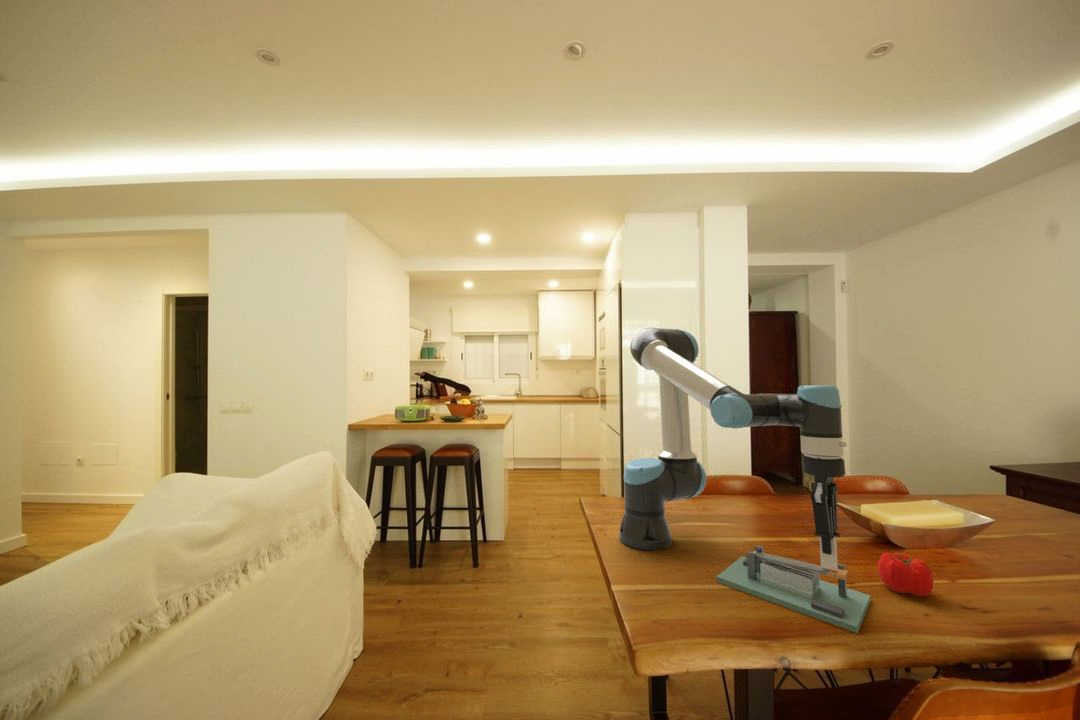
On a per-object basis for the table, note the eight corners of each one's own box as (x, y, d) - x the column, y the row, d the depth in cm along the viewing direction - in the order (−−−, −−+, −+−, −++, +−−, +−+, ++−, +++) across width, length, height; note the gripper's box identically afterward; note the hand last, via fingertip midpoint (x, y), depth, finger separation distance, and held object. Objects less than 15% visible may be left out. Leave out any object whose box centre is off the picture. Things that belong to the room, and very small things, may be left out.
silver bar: (747, 578, 91) (746, 550, 91) (758, 567, 96) (757, 541, 96) (839, 609, 78) (838, 577, 78) (846, 595, 83) (845, 565, 83)
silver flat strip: (750, 559, 92) (749, 552, 92) (755, 554, 94) (754, 548, 94) (845, 581, 79) (844, 574, 79) (848, 576, 81) (847, 569, 81)
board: (716, 581, 91) (716, 573, 91) (742, 560, 102) (742, 552, 102) (857, 633, 72) (857, 622, 72) (870, 601, 83) (870, 591, 83)
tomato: (869, 581, 92) (868, 548, 92) (908, 581, 91) (906, 548, 92) (905, 603, 82) (903, 567, 83) (948, 604, 82) (946, 567, 82)
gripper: (837, 462, 77) (845, 585, 75) (849, 454, 86) (857, 564, 84) (793, 457, 82) (800, 571, 81) (809, 450, 91) (815, 553, 90)
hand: (829, 567), depth 82 cm, fingers closed
